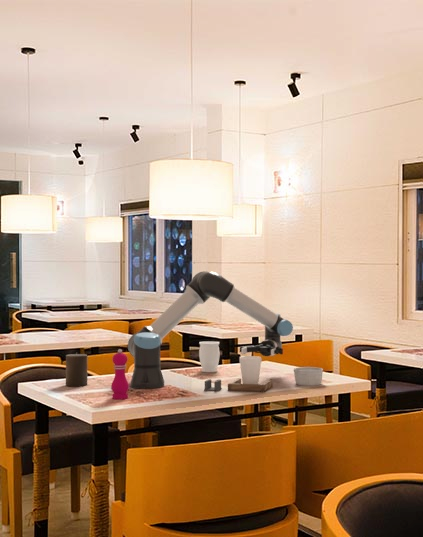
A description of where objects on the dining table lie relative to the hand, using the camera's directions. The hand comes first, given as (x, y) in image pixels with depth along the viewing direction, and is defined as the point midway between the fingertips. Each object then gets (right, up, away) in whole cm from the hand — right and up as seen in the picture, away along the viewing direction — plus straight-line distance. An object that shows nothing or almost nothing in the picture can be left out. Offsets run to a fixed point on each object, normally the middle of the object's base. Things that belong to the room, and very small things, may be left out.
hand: (256, 352), depth 338 cm
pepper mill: (-57, -15, -32) cm, 67 cm away
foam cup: (-3, -14, -9) cm, 18 cm away
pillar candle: (-81, -16, +3) cm, 83 cm away
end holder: (-3, -15, -9) cm, 18 cm away
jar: (-21, -15, +46) cm, 53 cm away
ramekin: (+23, -15, +3) cm, 28 cm away
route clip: (-20, -15, -12) cm, 28 cm away
